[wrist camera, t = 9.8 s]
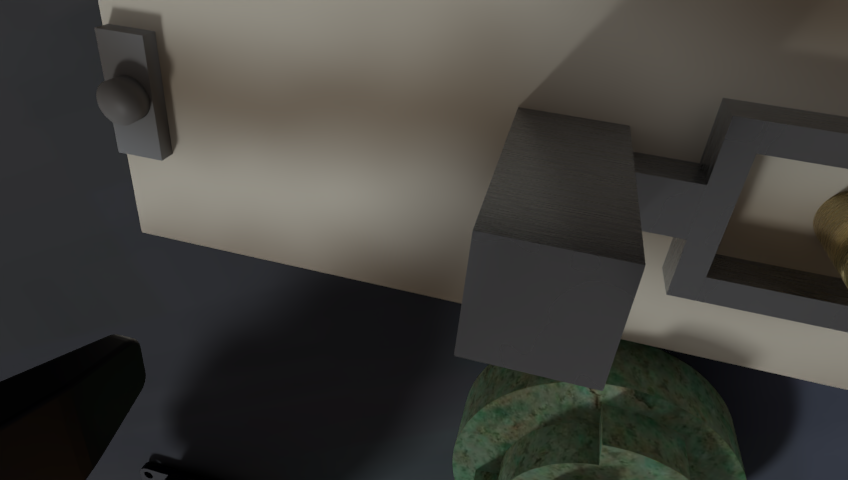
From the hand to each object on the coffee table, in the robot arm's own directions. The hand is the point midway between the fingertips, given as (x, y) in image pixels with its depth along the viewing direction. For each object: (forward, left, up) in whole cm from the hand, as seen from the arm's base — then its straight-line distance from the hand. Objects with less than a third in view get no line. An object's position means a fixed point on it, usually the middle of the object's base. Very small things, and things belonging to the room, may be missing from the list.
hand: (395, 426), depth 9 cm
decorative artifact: (-11, -5, -11) cm, 17 cm away
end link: (+1, -7, -10) cm, 12 cm away
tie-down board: (+1, -1, -11) cm, 11 cm away
